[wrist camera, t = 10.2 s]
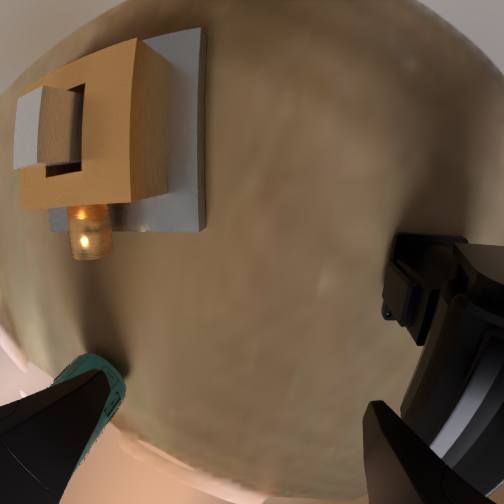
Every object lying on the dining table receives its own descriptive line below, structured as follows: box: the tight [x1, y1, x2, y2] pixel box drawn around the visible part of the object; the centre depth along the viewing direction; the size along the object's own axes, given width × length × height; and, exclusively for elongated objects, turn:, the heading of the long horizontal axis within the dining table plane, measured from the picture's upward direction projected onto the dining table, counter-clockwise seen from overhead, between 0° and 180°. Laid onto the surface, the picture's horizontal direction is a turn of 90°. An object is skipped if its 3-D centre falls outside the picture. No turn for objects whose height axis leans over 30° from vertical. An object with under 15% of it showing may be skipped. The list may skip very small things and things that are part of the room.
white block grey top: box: [14, 85, 84, 170], centre depth 13 cm, size 2×4×9 cm, turn 179°
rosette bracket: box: [19, 27, 207, 261], centre depth 15 cm, size 14×15×6 cm
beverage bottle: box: [50, 353, 126, 475], centre depth 15 cm, size 6×7×20 cm
